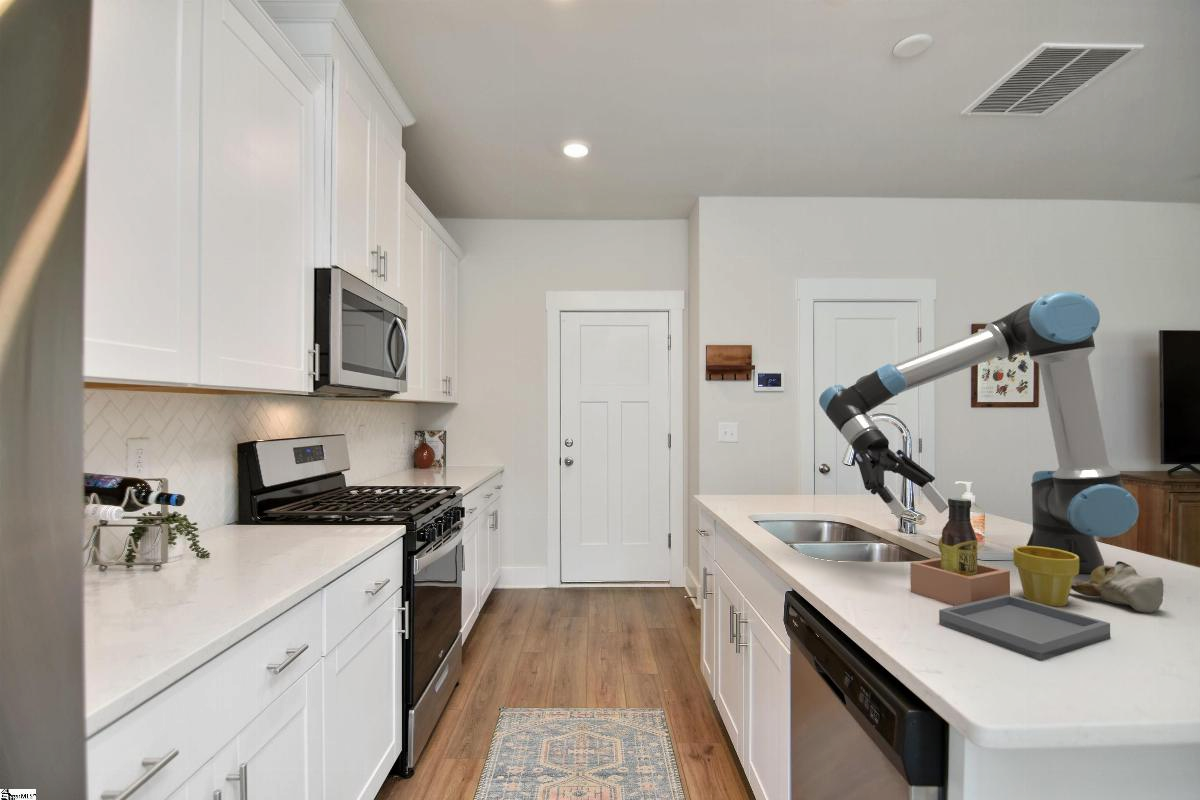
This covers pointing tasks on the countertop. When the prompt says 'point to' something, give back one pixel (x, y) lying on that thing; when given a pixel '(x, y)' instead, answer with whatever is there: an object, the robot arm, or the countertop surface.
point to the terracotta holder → (958, 583)
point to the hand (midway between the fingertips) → (924, 511)
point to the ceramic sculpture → (1123, 587)
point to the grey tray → (1025, 626)
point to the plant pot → (1046, 573)
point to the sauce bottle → (959, 540)
